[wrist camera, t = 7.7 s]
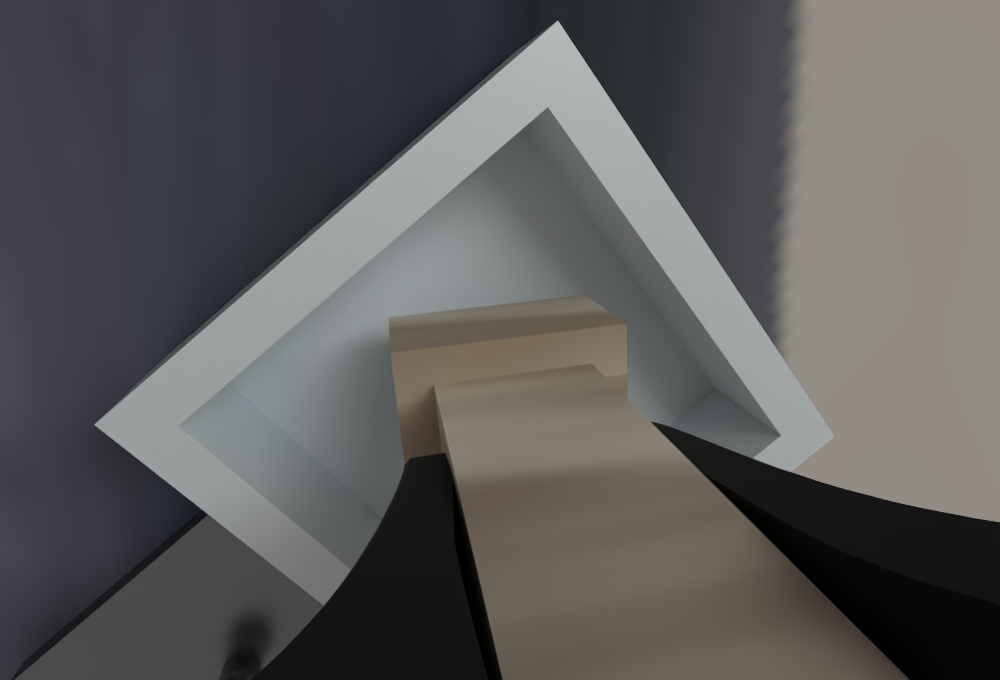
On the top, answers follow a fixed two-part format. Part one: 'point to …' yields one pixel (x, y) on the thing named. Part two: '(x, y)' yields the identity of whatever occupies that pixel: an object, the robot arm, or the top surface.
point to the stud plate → (182, 616)
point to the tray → (450, 286)
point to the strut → (598, 514)
